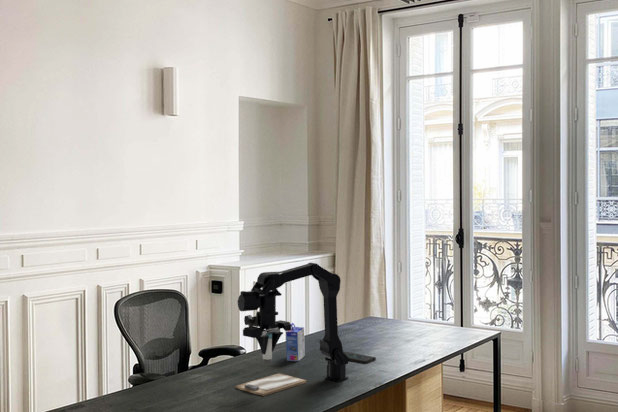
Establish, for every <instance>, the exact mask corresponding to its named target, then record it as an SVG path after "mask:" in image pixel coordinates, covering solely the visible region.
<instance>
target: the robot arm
mask: <svg viewBox="0 0 618 412" xmlns="http://www.w3.org/2000/svg"><path fill="white" fill-rule="evenodd" d="M310 276H311V277H313V278H314V279H315V280H316V281H317V282H318V287H319V290H320V292H321V294H322V298H323V319H324V321H323V323H324V324H323V325H324V336H323V338H322V339H319V341H318V342H319V349H318V350H319V351H320V352H321V353H320V354H321V355H322V356H323V358H324V360H325V361H326V362H327V365H326V376H325V377H324V380H329V381H333V382H336V383H339V382H341V381H344V380H347V379H349V377H348V376H346V375H347V374H346V373H347V372H346V371H347V369H346V368H347V365H348V364H349V362H350V361H349V358H348V357H347V356H346V355H345V354H344V353H343V351H344V348H343V344H342V340H341V338H340V337H339V331H338V330H339V329H338V327H339V326H338V324H339V323H338V305H337V297H338V295H339V293H340V289H341V277H340V276H339V274H337V273H333V272H331V271H329V270H327V269H325V268H323V267H322V266H320V265H319V264H318V263H316V262H308V263H306V264H302V265H298V266H295V267H293V268H292V267H291V268H289V269H285V270H281V271H265V272H261V273H259V275H258V276H257V278H256V279H257V280H256V282H255V283H254V285H253V286H252V288H251V289H250V290H247V291H246V290H243V291H240V294H239V296H238V299H237V307H238V310H239V311H240V312H250V311H256V315H255V316H252V315H251V314H247V315H245V316H244V319H243V320H244V324H245V327H244V328H243V329H242V336H243V337H248V338H253V339H256V341H257V343H258V345H259V348H260V351H261V354H262V355H263V354H265V353H266V349H267V344H268V338H269V336H267V335H266V332H269V333H272V353H273V352H274V350H275V348H276V346H277V344H278V342H279V339H280V338H281V337H282V335H283V334H284V332H283V331H281V329H283V330H284V331H285V332H287V331H288V330H291V328H292V327H291V324H292V323H291V322H290V321H286V320H282V319H281V320H280V319H279V320H276V318H277V317H276V316H279V312H278V311H276V309H277V307H276V305H277V302H276V301H277V299H276V297H280V296H282V293H281V292H280V291H279V290H278V289H279V288H281V287H282V286H283V285H284V284H286V283H289V282H293V281H297V280H299V279H303V278H306V277H310Z"/></svg>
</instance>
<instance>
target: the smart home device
mask: <svg viewBox="0 0 618 412" xmlns="http://www.w3.org/2000/svg"><path fill="white" fill-rule="evenodd" d="M343 353H344V354H345V355H346V356H347V357H348V358H349V362H352V363H353V362H354V363H358V364H365V365H366V364H369V363H372V362H374V361H377V358H376V356H370V355H366V354H365V355H364V354H360V353H355V352H354V353H353V352H349V351H344V350H343Z"/></svg>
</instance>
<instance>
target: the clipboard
mask: <svg viewBox="0 0 618 412" xmlns="http://www.w3.org/2000/svg"><path fill="white" fill-rule="evenodd" d="M306 383H307V379H303V378H299V377H295V376H291V375H287V374H284V373H276V374H272V375H268V376H265V377H261V378H258V379H255V380H252V381H247V382H244V383H240V384H237V385H235V389H238V390H241V391H245V392H248V393H251V394H255V395H258V396H261V397H265V396H267V395H271V394H272V395H273V394H275V393H277V392H281V391H284V390H287V389H291V388H293V387H297V386H301V385H304V384H306Z"/></svg>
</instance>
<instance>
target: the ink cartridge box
mask: <svg viewBox="0 0 618 412" xmlns="http://www.w3.org/2000/svg"><path fill="white" fill-rule="evenodd" d="M290 324H291V330H288V331H285V340H286V341H285V345H286V361H288V362H299V361H301V360H302V359H303V358H304V357H305V355H306V352H305V350H306V345H305V340H306V339H305V327H303V326H301V327H300V326H296V325H295V323H294V322H291V323H290Z"/></svg>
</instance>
